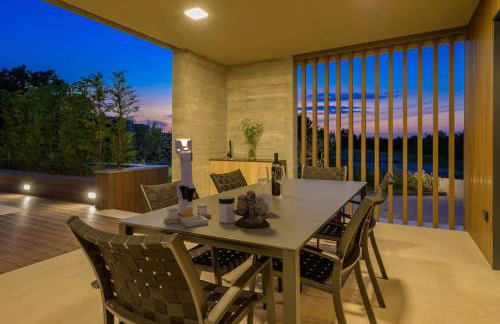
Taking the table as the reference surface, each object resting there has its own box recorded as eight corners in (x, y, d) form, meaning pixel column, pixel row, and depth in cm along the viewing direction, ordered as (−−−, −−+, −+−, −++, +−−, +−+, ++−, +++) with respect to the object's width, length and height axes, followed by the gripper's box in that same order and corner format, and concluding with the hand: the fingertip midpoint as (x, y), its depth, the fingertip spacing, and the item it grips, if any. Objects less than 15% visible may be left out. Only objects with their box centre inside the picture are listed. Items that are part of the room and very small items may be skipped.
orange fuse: (183, 219, 162) (182, 206, 161) (190, 218, 164) (190, 205, 163) (185, 221, 158) (185, 207, 158) (193, 220, 160) (192, 206, 160)
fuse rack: (163, 221, 158) (163, 217, 158) (206, 215, 170) (206, 211, 170) (167, 224, 152) (167, 220, 152) (211, 218, 164) (211, 214, 163)
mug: (272, 211, 177) (271, 193, 177) (270, 214, 169) (269, 195, 169) (251, 210, 180) (250, 192, 179) (248, 213, 172) (248, 195, 171)
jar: (215, 221, 155) (214, 198, 155) (224, 218, 162) (223, 195, 162) (230, 223, 151) (229, 199, 150) (238, 220, 158) (238, 196, 157)
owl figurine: (229, 228, 144) (228, 191, 143) (236, 222, 155) (235, 188, 154) (267, 229, 140) (266, 192, 139) (271, 223, 151) (271, 188, 150)
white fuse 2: (197, 217, 166) (197, 204, 165) (204, 216, 168) (204, 203, 167) (200, 219, 162) (199, 205, 162) (207, 218, 164) (207, 204, 164)
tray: (180, 222, 155) (180, 217, 155) (200, 219, 160) (200, 215, 160) (187, 227, 146) (186, 222, 145) (208, 224, 151) (208, 219, 151)
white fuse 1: (167, 221, 158) (167, 208, 157) (175, 220, 160) (175, 207, 159) (170, 223, 154) (169, 209, 154) (177, 222, 156) (177, 208, 156)
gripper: (175, 174, 164) (175, 199, 165) (183, 176, 151) (184, 203, 152) (187, 173, 167) (188, 198, 168) (197, 175, 155) (197, 202, 156)
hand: (187, 200), depth 160 cm, fingers open, 7 cm apart
